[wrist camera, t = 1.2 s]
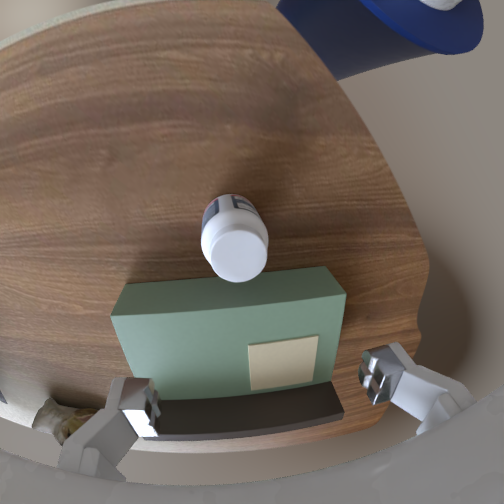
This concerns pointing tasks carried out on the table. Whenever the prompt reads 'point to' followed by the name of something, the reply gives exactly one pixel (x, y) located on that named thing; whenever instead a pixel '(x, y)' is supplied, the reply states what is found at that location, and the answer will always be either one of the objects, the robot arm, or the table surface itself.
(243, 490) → the robot arm
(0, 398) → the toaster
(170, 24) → the table surface
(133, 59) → the table surface
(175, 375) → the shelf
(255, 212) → the pill bottle
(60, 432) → the ceramic sculpture
